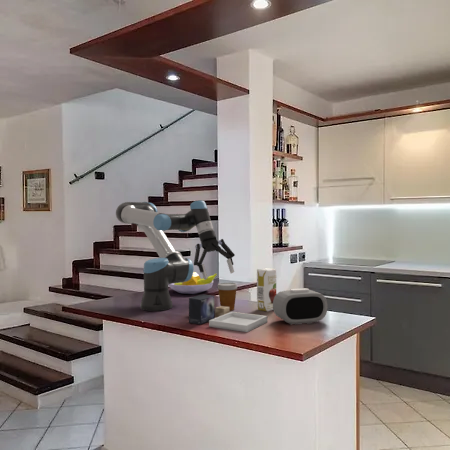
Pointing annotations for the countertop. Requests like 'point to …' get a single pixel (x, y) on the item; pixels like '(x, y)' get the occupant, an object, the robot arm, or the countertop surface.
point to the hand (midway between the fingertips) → (219, 275)
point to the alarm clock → (300, 306)
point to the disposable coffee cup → (227, 294)
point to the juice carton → (266, 288)
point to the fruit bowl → (193, 284)
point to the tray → (238, 321)
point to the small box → (201, 309)
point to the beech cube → (221, 311)
